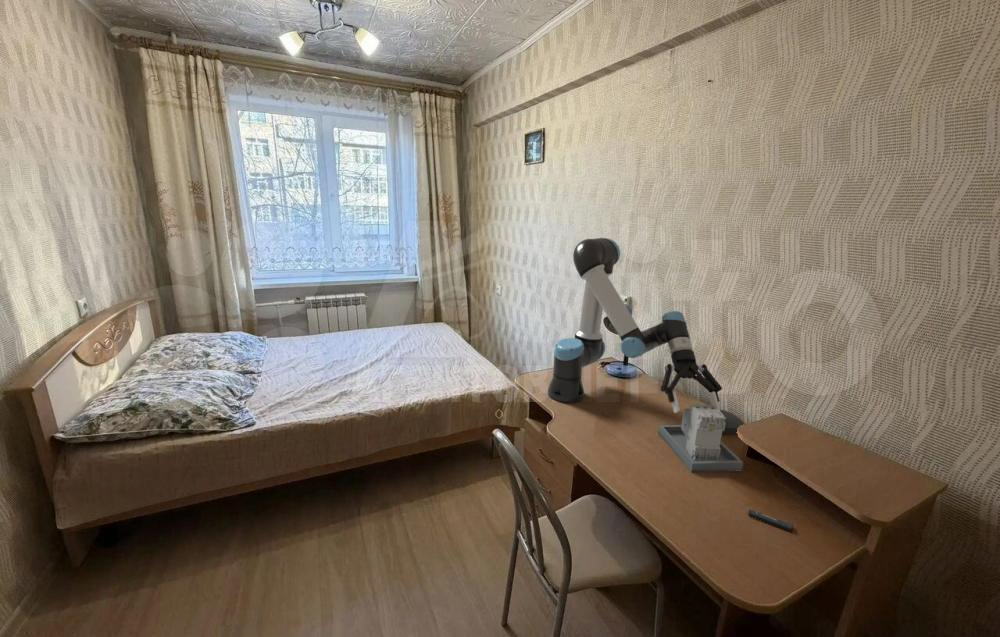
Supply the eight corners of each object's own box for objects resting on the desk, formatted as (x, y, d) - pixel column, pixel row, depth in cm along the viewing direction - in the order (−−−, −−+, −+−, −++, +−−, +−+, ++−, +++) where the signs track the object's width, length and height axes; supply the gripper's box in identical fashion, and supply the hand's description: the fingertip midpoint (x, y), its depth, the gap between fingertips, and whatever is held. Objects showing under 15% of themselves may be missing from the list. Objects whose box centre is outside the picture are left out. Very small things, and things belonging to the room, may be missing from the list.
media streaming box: (708, 434, 144) (710, 426, 143) (689, 414, 158) (690, 407, 157) (749, 435, 144) (751, 427, 143) (726, 415, 158) (728, 408, 157)
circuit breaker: (699, 436, 140) (706, 397, 136) (718, 461, 126) (726, 418, 122) (677, 435, 140) (683, 395, 136) (693, 460, 126) (700, 416, 123)
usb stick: (792, 528, 102) (793, 523, 101) (792, 534, 99) (793, 529, 99) (748, 511, 107) (749, 507, 106) (747, 517, 105) (748, 512, 104)
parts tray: (658, 433, 143) (659, 425, 142) (701, 432, 144) (703, 424, 143) (691, 472, 122) (692, 463, 121) (741, 470, 123) (743, 462, 122)
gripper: (651, 347, 138) (665, 408, 128) (721, 348, 140) (740, 408, 130) (643, 356, 145) (655, 415, 135) (710, 357, 147) (727, 415, 136)
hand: (697, 412), depth 132 cm, fingers open, 13 cm apart
